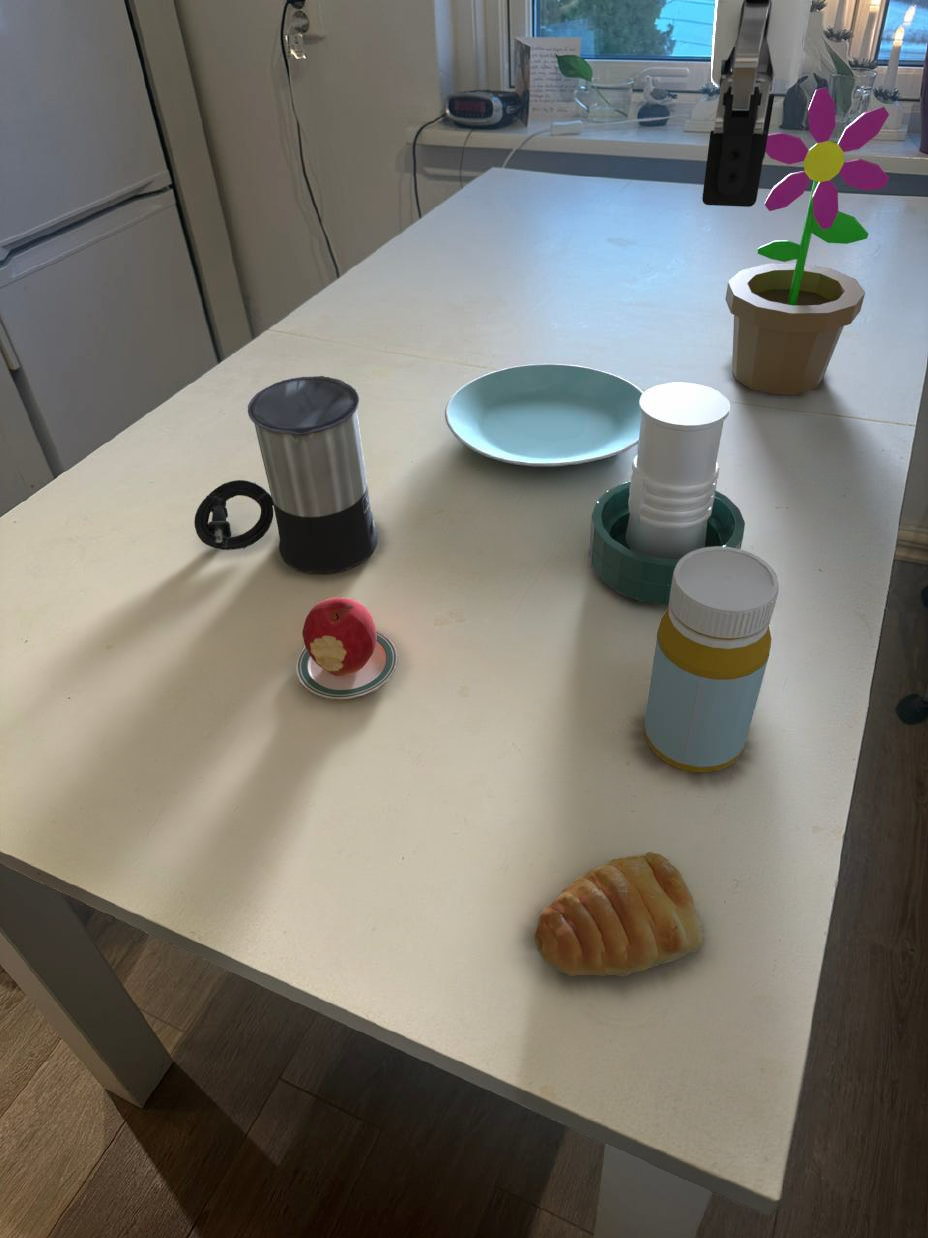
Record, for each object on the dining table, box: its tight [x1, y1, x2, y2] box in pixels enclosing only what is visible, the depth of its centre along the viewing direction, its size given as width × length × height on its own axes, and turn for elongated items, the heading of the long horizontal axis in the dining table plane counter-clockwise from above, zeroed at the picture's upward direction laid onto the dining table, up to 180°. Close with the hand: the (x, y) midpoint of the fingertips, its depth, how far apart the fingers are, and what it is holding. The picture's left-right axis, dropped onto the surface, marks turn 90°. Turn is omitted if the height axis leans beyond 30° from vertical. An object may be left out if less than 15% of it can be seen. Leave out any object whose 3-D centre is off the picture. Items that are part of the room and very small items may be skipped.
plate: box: [444, 363, 644, 468], centre depth 94 cm, size 22×22×3 cm
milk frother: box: [193, 375, 379, 575], centre depth 77 cm, size 14×16×15 cm
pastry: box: [534, 851, 704, 977], centre depth 51 cm, size 9×7×4 cm
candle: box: [625, 381, 731, 559], centre depth 71 cm, size 7×7×15 cm
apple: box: [295, 597, 398, 700], centre depth 67 cm, size 8×8×6 cm
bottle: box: [643, 546, 780, 773], centre depth 57 cm, size 7×7×15 cm
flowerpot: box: [724, 86, 890, 395], centre depth 92 cm, size 14×14×30 cm
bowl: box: [588, 480, 746, 606], centre depth 75 cm, size 13×13×5 cm
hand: (734, 181), depth 57 cm, fingers open, 9 cm apart
